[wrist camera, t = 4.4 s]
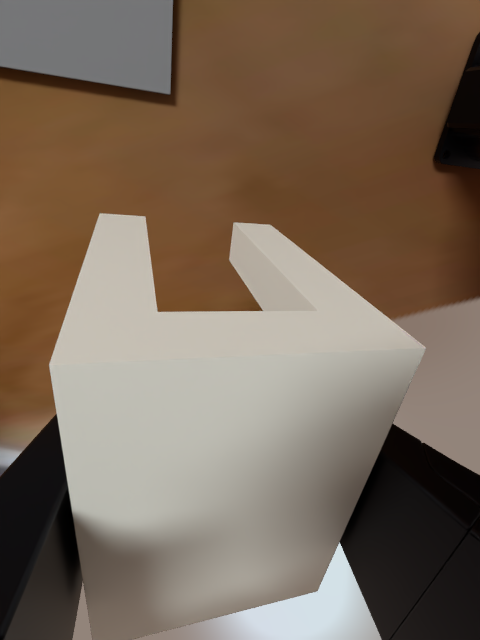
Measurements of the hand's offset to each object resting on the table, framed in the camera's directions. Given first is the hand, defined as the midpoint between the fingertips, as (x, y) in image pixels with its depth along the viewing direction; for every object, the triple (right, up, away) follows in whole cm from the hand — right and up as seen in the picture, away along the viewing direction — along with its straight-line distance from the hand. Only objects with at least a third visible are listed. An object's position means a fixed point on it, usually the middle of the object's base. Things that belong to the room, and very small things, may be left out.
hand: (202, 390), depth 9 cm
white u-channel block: (-1, +2, +3) cm, 4 cm away
